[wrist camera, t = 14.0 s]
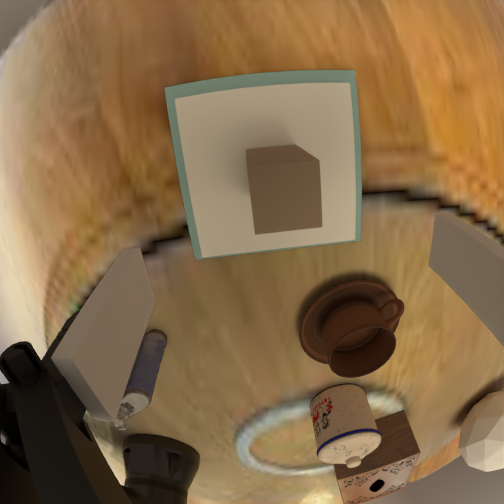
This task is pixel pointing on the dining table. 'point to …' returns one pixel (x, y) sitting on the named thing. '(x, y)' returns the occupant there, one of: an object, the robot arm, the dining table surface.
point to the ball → (484, 434)
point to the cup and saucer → (352, 327)
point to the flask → (142, 377)
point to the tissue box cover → (381, 463)
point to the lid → (270, 166)
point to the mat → (254, 81)
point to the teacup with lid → (344, 425)
